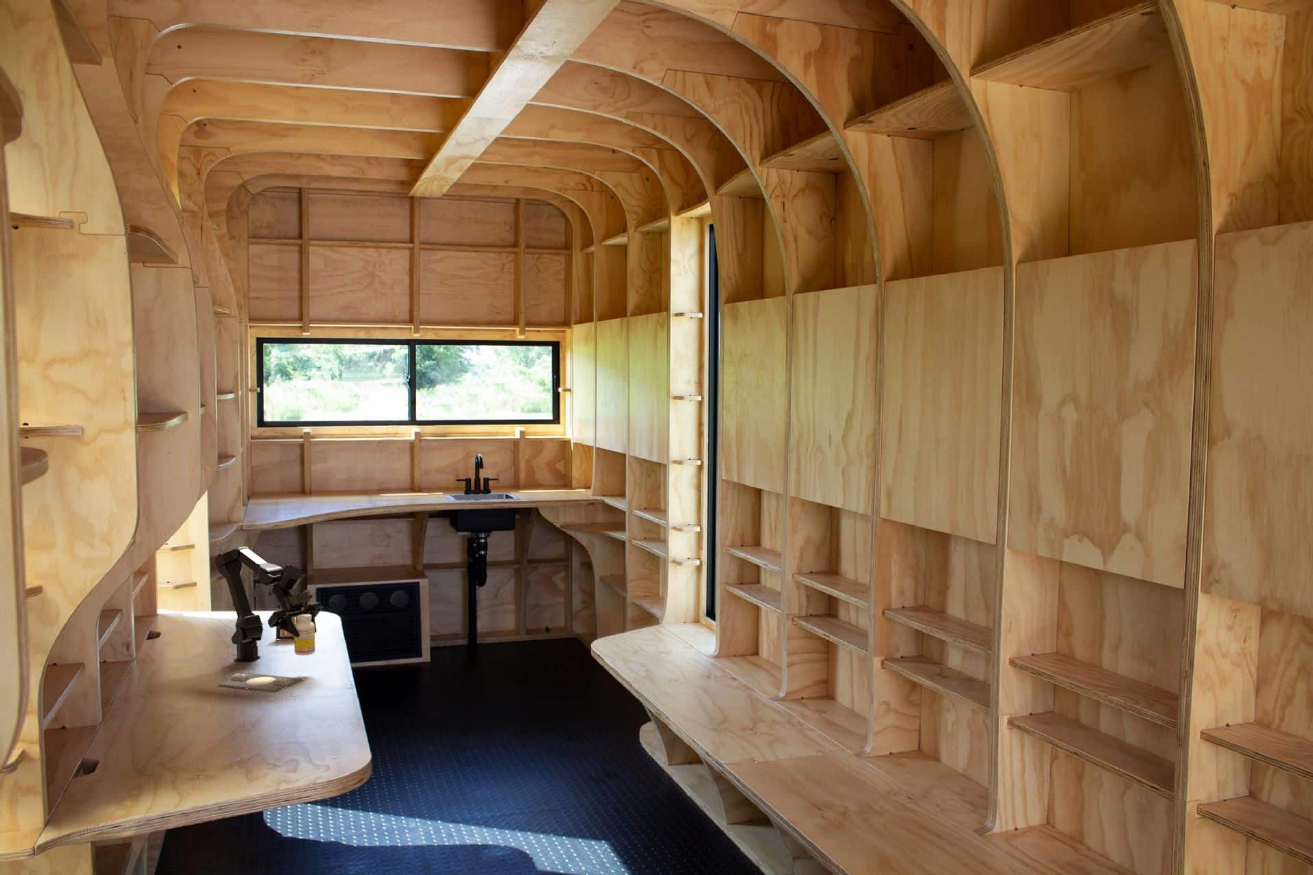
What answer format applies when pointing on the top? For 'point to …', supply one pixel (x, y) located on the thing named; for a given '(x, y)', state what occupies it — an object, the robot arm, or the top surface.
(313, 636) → the supplement bottle
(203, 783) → the top surface
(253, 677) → the curved gray panel
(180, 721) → the top surface
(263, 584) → the robot arm
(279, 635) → the ammunition clip
